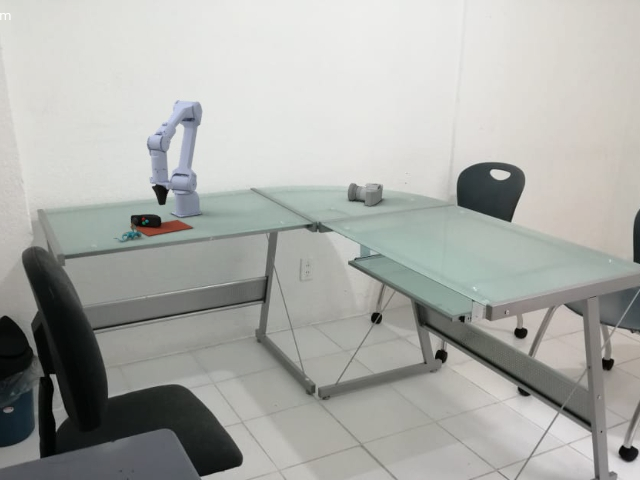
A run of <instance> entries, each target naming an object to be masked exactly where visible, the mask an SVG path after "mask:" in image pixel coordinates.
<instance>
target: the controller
mask: <svg viewBox="0 0 640 480" xmlns="http://www.w3.org/2000/svg"><path fill="white" fill-rule="evenodd" d="M132 222H133V224H134V225H135V227H139V226H140V227H142V226H153V227H160V226H161V223H162V218H161V216H159V215H158V214H154V213H144V214H132V215H130V224H131V223H132Z"/></svg>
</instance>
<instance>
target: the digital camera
mask: <svg viewBox="0 0 640 480" xmlns="http://www.w3.org/2000/svg"><path fill="white" fill-rule="evenodd" d="M383 189H384V185H383V184H382V183H373V182H372V183H371V182H367V183H366V184H364V186H361V185H357V184H356V183H354V182H351V183H350V184H349V186H348V189H347V200H349V201H355V200H362V201H364V206H366V207H372V206H375V205H376V204H378V203H379V202H381V201H382V199H383V191H384V190H383Z"/></svg>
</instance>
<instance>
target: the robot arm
mask: <svg viewBox="0 0 640 480" xmlns="http://www.w3.org/2000/svg"><path fill="white" fill-rule="evenodd" d="M202 117H203V108H202V104H201V103H200V102H199V101H189V100H188V101H187V100H176V101H175V102H174V103H173V105H172V113H171V115H170V117H169V118H168V120H167V121H164V122H162V123H161V125H160V126H159V127H158V129H157V130H156V131H155V133H154V134H151V135H150V136H148V138H147V139H146V147H147V150H148V154H149V156H150V161H151V162H150V163H151V175H152V176H150V177H149V184H151V185H152V186H151V189H152V190H153V192H154V195H155V197H156V200H157V203H158V205H159V206H166V203H167V200H168V199H167V198H168V195H169V192H170V191H172V193H173V195H174V211H171V214H173V215H174V216H176V217H179V218H185V217H191V216H197V215H201V214H202V213H201V207H200V206H201V205H200V196H199V193H198V192H197V191H196V190H197V187H198V182H197V179H198V175H197V174H196V173H195V171H194V170H193V169H192V167H193V160H194V153H195V147H196V140H197V134H198V128H199V126H200V125H201V122H202ZM179 124H180V125H182V126H183V135H182V140H181V145H180V146H181V148H180V152H179V153H180V154H179V160H178V166H177V167H176V168H175V169H173V170H172V171H171V175H170V177H169V167H168V166H169V165H168V151H169V149H170V144H171V140H172V139H173V137H174V136H175V135H176V132H177V127H178V126H179Z"/></svg>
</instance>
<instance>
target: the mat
mask: <svg viewBox="0 0 640 480" xmlns="http://www.w3.org/2000/svg"><path fill="white" fill-rule="evenodd" d="M135 227H136V228H135V229H134V230H136V229H138V231H139V232H141V234H144V235H145V236H147V237H152V236H153V237H154V236H159V235H164V234H168V233H174V232H180V231H186V230H190V229H193V228H194V227H193V226H191V225H188V224H187V223H185V222H182V221H181V220H178V219H175V220H169V221H162V222H161V226H160V227H153V226H142V227H140V226H135Z"/></svg>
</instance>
